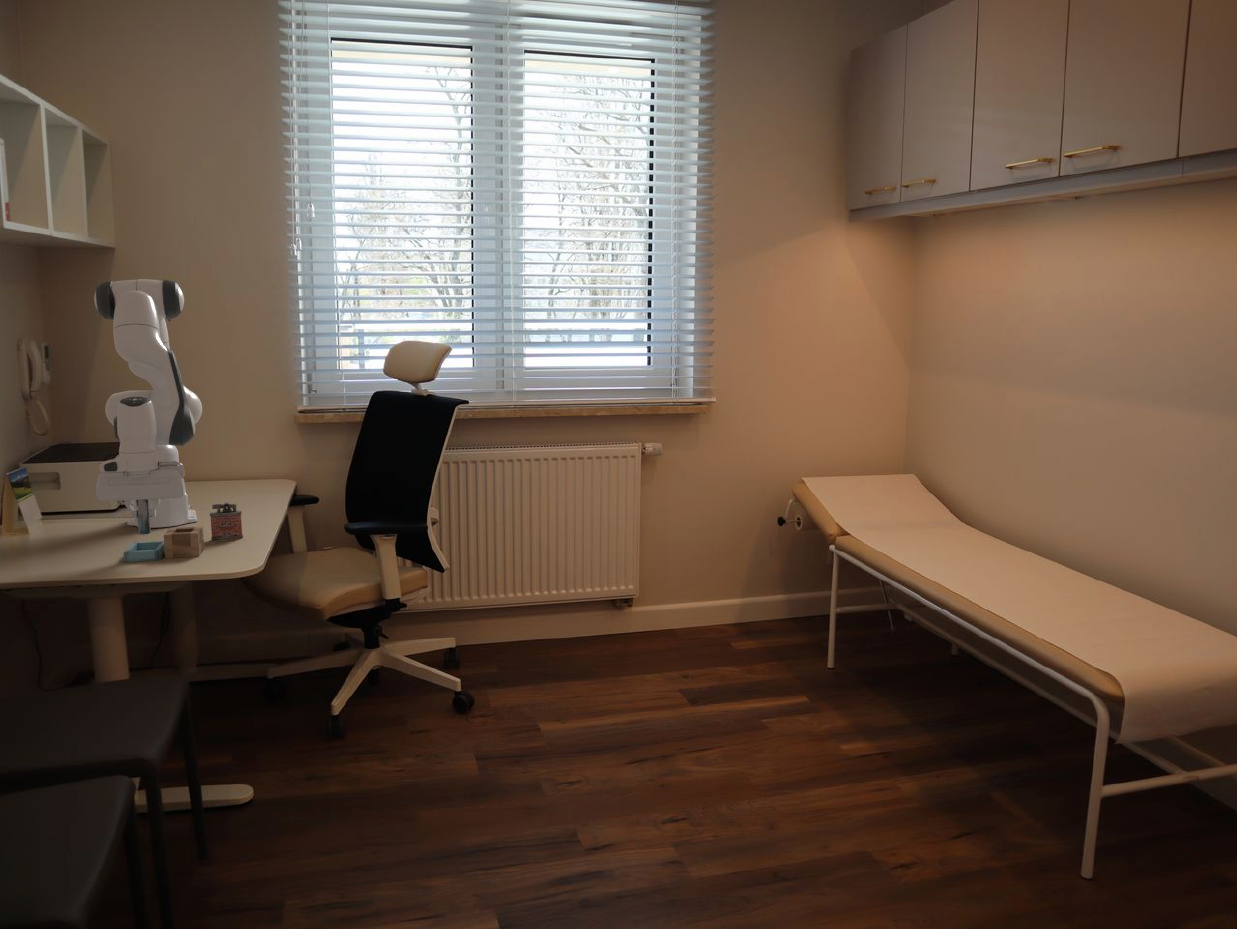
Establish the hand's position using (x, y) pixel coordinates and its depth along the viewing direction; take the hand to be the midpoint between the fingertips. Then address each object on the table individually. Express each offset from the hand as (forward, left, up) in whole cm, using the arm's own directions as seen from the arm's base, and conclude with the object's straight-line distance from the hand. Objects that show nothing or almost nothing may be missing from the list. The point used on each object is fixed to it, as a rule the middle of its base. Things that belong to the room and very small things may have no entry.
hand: (143, 516), depth 249 cm
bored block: (-1, +9, -10) cm, 14 cm away
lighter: (-16, +17, -10) cm, 25 cm away
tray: (0, 0, -10) cm, 10 cm away
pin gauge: (0, 0, -4) cm, 4 cm away
